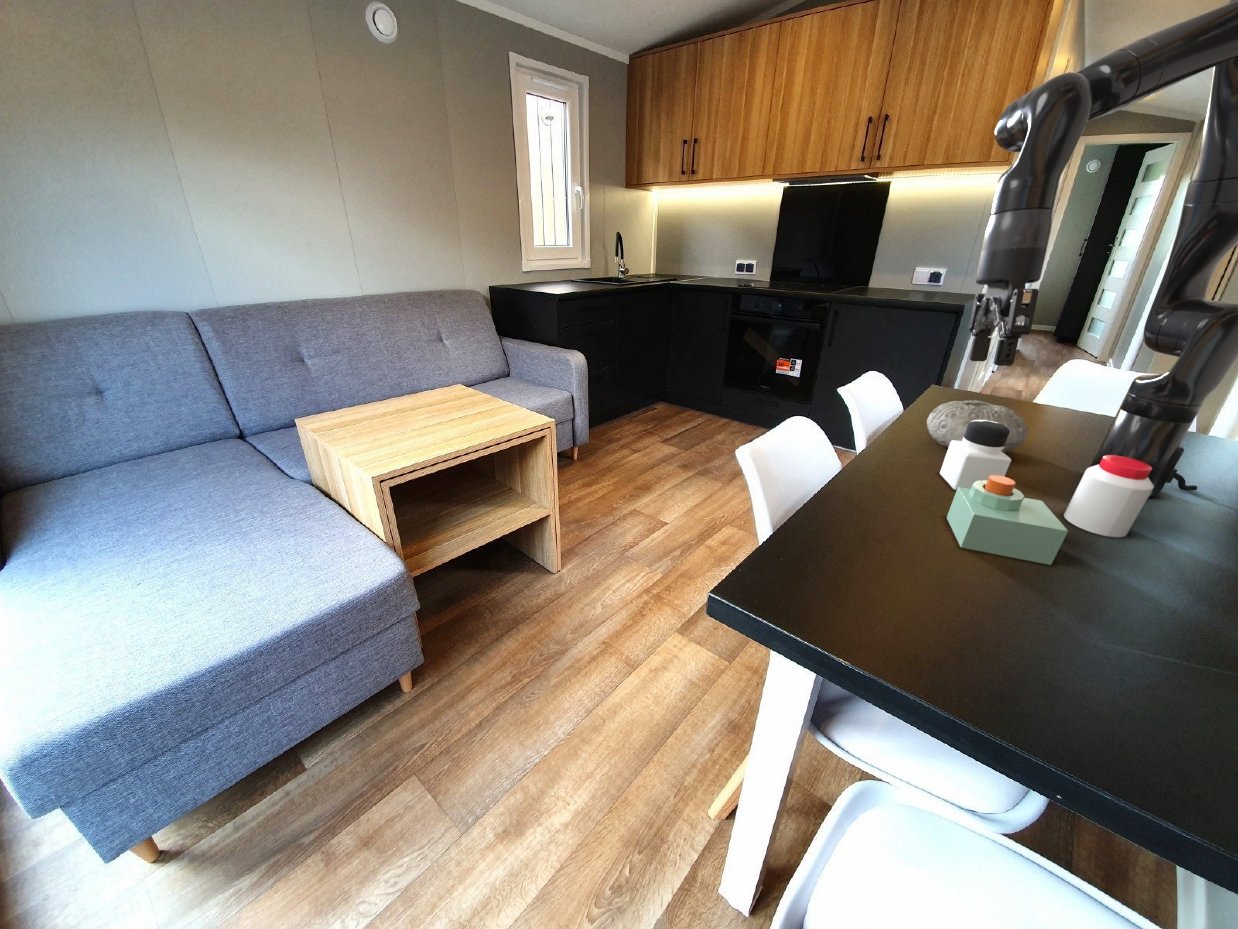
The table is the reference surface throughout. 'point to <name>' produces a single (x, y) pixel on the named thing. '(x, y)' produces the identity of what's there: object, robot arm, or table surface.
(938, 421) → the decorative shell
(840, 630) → the table surface
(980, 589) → the table surface
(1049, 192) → the robot arm
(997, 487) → the orange push button
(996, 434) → the medicine bottle
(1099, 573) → the table surface
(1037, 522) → the button base
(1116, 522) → the pill bottle
